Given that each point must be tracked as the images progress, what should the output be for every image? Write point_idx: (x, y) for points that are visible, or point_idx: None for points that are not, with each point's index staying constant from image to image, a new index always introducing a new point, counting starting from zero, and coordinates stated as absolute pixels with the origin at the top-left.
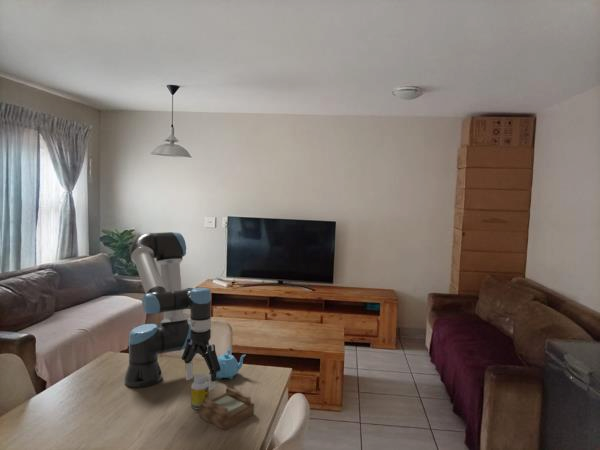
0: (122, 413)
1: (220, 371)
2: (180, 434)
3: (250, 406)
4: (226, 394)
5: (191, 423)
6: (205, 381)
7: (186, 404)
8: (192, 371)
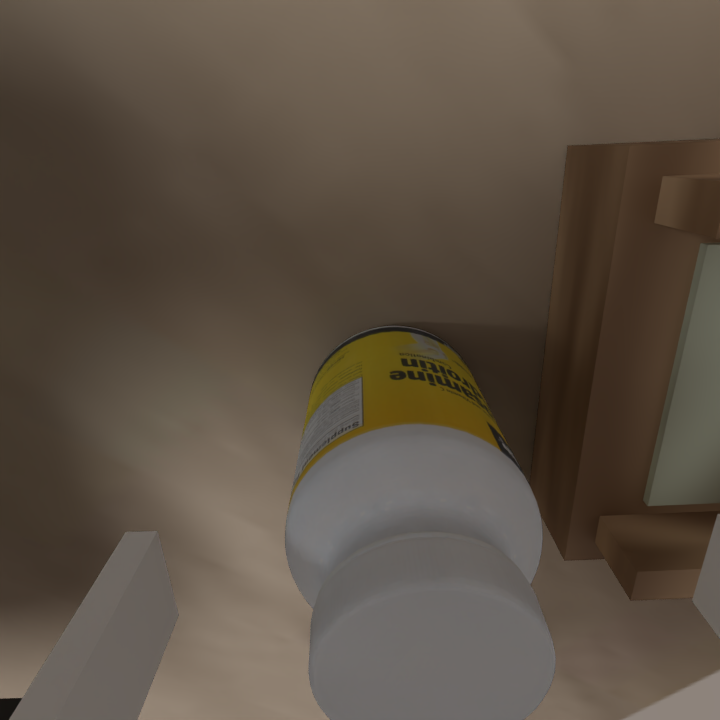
0: None
1: None
2: (589, 660)
3: None
4: (660, 221)
5: (553, 569)
6: (499, 547)
7: (282, 458)
8: (102, 643)
